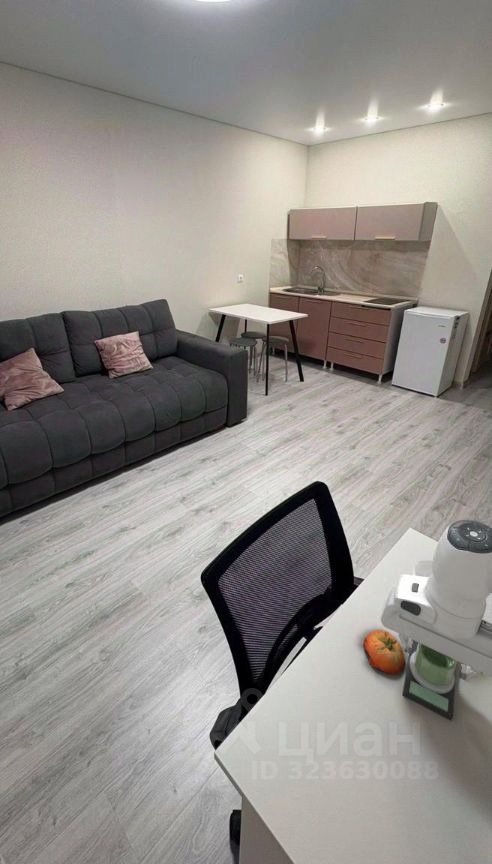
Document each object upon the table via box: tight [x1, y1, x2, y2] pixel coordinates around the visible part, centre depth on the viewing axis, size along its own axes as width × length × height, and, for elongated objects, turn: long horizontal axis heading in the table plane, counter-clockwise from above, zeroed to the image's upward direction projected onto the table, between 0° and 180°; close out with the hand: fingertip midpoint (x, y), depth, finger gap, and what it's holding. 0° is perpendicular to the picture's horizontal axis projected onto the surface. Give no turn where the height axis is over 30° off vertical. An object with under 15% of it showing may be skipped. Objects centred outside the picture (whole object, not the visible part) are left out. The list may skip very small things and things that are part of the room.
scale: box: [401, 639, 456, 722], centre depth 75 cm, size 12×8×3 cm, turn 149°
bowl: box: [414, 643, 458, 685], centre depth 73 cm, size 6×6×4 cm
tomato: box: [362, 629, 406, 675], centre depth 79 cm, size 8×7×7 cm
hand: (434, 662), depth 74 cm, fingers open, 8 cm apart
